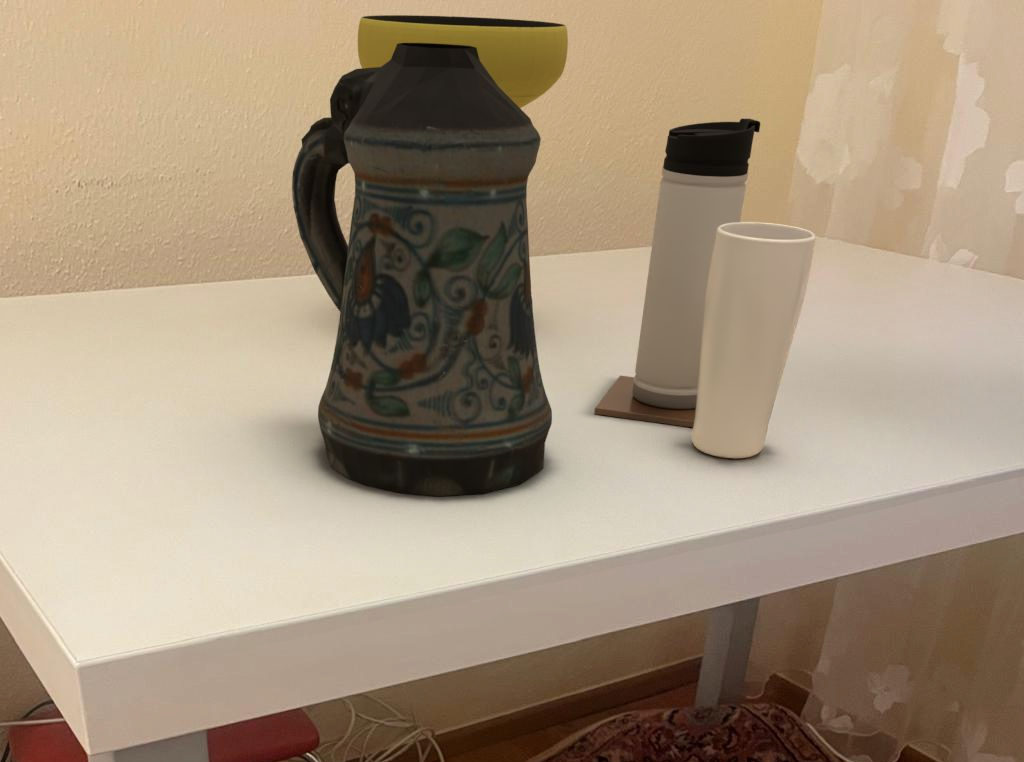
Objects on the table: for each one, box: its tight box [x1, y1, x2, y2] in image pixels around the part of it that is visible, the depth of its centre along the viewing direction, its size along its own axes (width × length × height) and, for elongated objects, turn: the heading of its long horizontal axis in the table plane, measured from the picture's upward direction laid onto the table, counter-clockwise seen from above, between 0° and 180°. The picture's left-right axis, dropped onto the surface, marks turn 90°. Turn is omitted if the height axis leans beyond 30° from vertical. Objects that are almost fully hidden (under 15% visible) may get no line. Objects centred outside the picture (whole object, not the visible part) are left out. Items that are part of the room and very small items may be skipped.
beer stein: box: [291, 43, 553, 497], centre depth 79 cm, size 16×19×25 cm
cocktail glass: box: [357, 14, 569, 109], centre depth 109 cm, size 18×18×25 cm
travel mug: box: [632, 118, 761, 410], centre depth 92 cm, size 6×7×20 cm
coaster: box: [593, 375, 696, 428], centre depth 98 cm, size 10×10×1 cm
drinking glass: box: [691, 221, 817, 459], centre depth 85 cm, size 7×7×15 cm
